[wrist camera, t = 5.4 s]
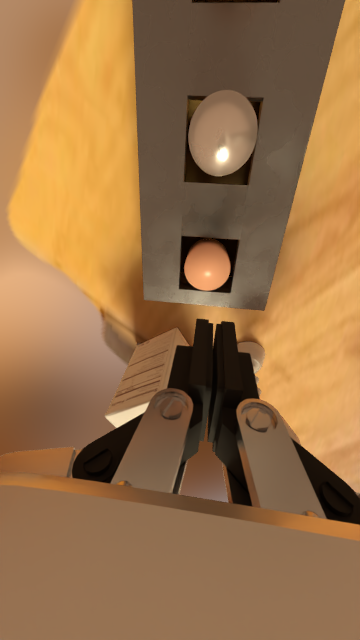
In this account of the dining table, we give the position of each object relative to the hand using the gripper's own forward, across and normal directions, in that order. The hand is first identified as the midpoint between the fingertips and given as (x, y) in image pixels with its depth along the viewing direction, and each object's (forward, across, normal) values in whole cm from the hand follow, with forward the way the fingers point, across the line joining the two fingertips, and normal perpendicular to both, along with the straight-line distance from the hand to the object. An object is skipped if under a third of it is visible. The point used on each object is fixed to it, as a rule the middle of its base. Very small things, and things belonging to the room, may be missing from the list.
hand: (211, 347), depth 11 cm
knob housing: (+18, +1, -9) cm, 20 cm away
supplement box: (+18, +5, +16) cm, 25 cm away
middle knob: (+12, 0, -9) cm, 15 cm away
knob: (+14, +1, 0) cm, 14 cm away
